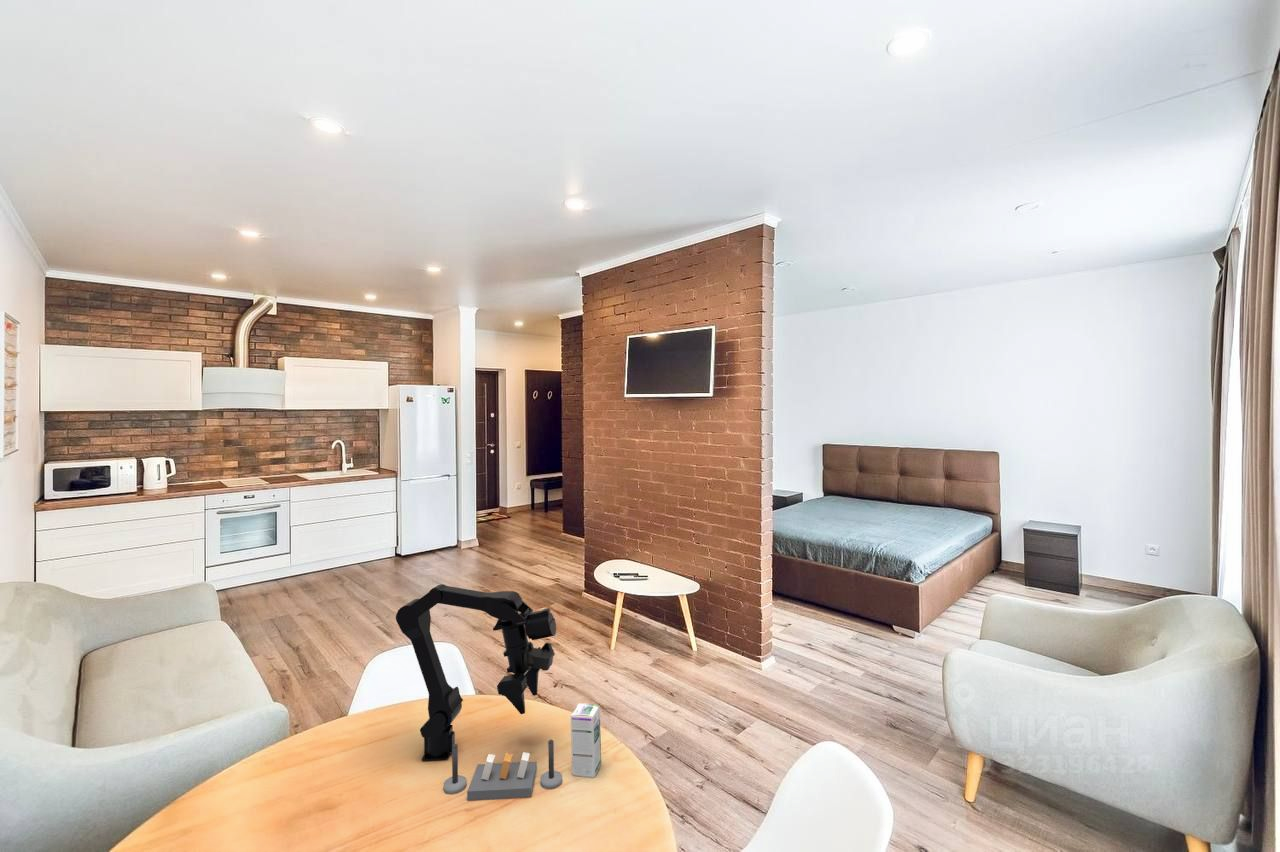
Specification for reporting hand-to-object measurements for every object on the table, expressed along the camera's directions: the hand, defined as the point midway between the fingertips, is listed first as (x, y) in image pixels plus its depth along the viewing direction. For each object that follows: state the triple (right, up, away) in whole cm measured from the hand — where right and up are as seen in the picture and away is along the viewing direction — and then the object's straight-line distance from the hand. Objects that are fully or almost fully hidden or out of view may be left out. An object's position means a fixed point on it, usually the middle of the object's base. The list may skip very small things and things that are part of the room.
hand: (529, 704), depth 137 cm
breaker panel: (-4, -13, -12) cm, 18 cm away
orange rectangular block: (-4, -11, -12) cm, 16 cm away
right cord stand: (+7, -13, -11) cm, 18 cm away
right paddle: (0, -11, -11) cm, 15 cm away
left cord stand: (-15, -13, -12) cm, 23 cm away
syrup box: (+15, -13, -6) cm, 21 cm away
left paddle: (-8, -11, -12) cm, 18 cm away
